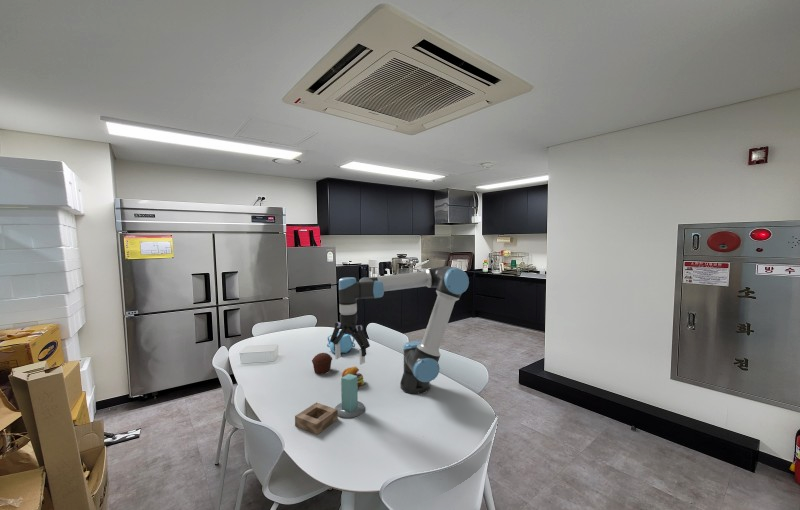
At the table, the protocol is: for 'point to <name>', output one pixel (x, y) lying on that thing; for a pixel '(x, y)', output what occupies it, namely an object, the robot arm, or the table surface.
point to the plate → (348, 414)
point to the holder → (309, 421)
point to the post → (349, 392)
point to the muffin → (322, 363)
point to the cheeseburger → (353, 371)
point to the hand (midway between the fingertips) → (349, 360)
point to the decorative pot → (343, 343)
